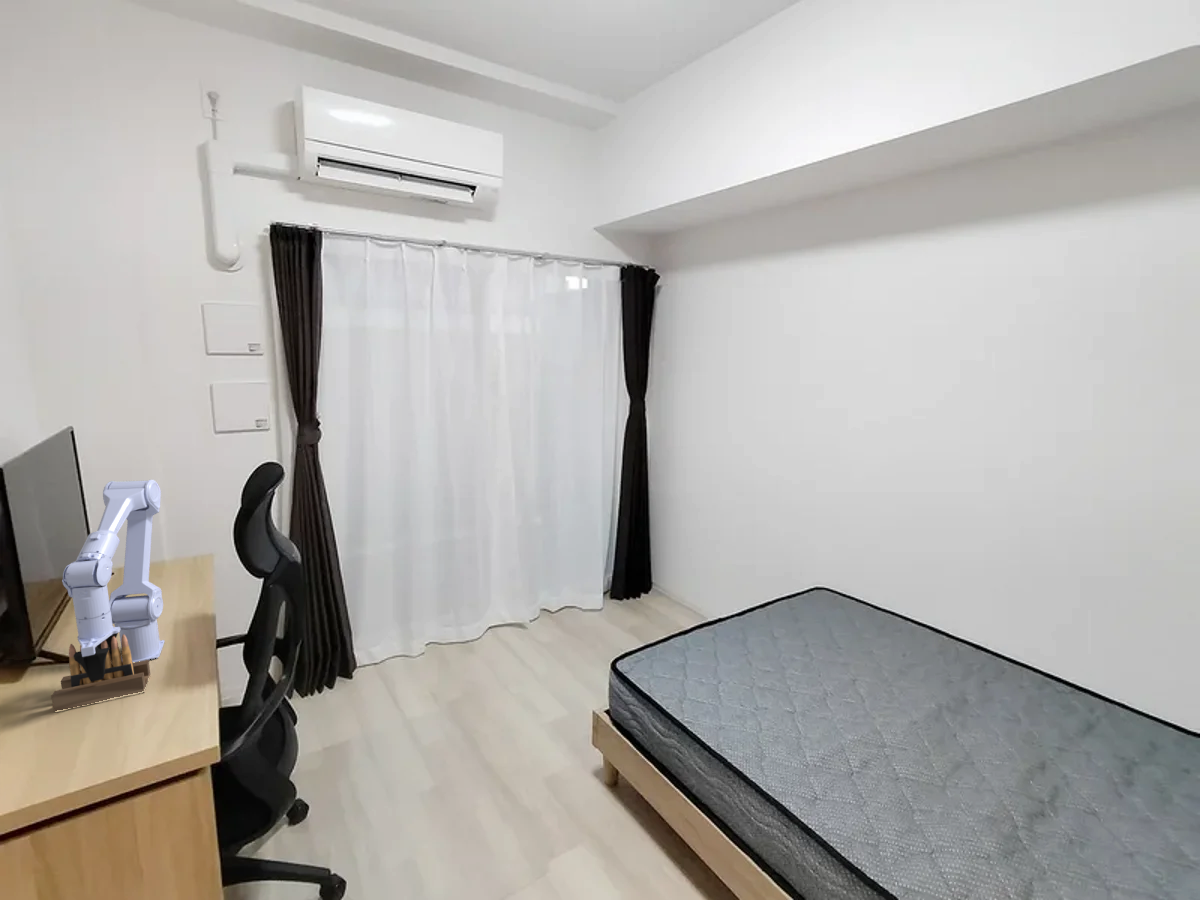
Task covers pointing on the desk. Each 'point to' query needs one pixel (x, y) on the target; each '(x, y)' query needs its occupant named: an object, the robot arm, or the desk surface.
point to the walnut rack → (101, 688)
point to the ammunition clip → (116, 665)
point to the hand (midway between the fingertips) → (101, 670)
